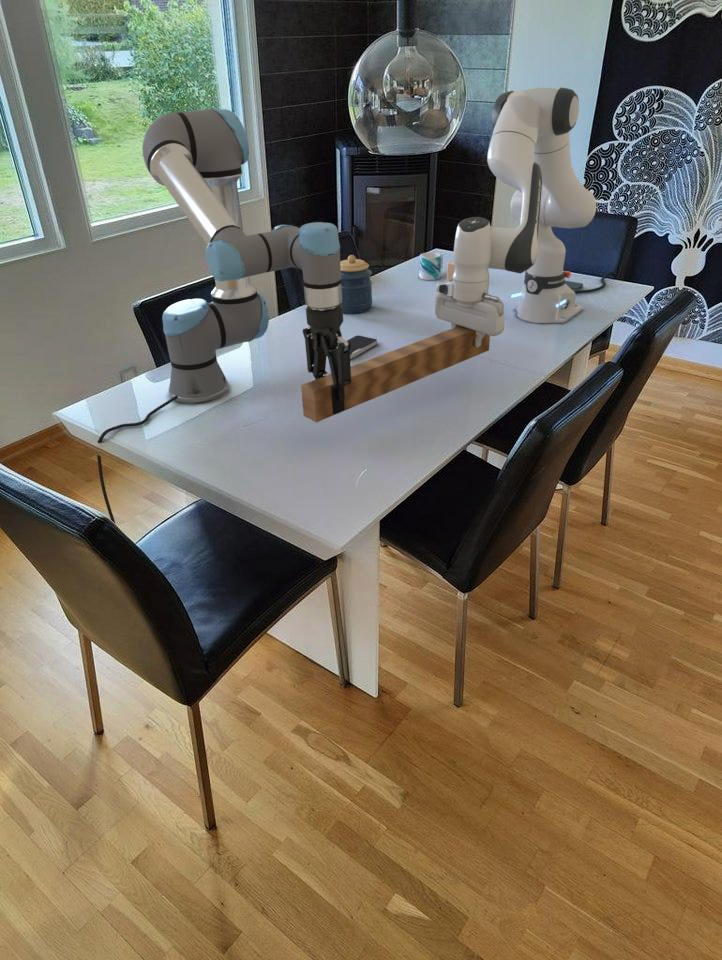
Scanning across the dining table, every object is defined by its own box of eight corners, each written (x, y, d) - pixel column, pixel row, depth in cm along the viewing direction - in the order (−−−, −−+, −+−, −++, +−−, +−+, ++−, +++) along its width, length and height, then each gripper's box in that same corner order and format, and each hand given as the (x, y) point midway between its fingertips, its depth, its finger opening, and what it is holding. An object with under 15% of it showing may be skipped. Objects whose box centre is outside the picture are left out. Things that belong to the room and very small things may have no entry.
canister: (340, 315, 224) (337, 262, 214) (330, 304, 234) (327, 252, 224) (377, 311, 226) (376, 257, 217) (366, 299, 237) (364, 248, 227)
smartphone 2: (577, 289, 235) (536, 281, 242) (576, 293, 236) (535, 286, 243) (584, 283, 240) (544, 276, 247) (583, 287, 241) (543, 280, 248)
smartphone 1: (378, 339, 201) (349, 356, 191) (378, 343, 202) (349, 360, 191) (357, 335, 205) (327, 351, 195) (357, 339, 206) (328, 355, 195)
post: (316, 422, 144) (313, 391, 140) (303, 415, 147) (300, 385, 143) (488, 350, 175) (490, 323, 171) (475, 346, 178) (477, 319, 174)
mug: (415, 278, 257) (415, 256, 252) (430, 270, 265) (430, 248, 261) (434, 281, 253) (435, 258, 248) (448, 272, 261) (449, 250, 257)
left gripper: (366, 309, 132) (370, 415, 145) (312, 291, 143) (320, 391, 156) (337, 319, 128) (343, 427, 141) (283, 300, 139) (294, 401, 152)
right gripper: (512, 295, 159) (507, 350, 166) (448, 278, 172) (447, 330, 179) (495, 302, 155) (491, 357, 163) (431, 284, 169) (430, 336, 176)
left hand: (331, 408), depth 148 cm, fingers closed on post, 5 cm apart
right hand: (467, 343), depth 171 cm, fingers closed on post, 4 cm apart
